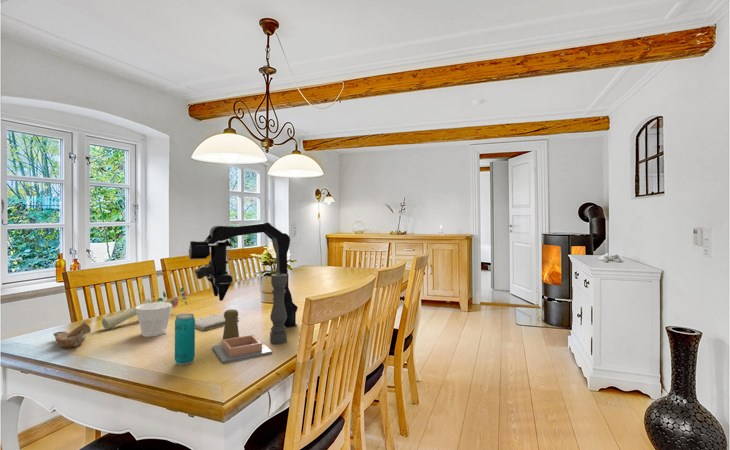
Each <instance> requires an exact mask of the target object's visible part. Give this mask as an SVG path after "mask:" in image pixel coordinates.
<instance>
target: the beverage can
mask: <svg viewBox="0 0 730 450" xmlns="http://www.w3.org/2000/svg"><path fill="white" fill-rule="evenodd" d="M194 316H195V314H194V313H181V314H177V315H176V316H175V319H174V361H175V363H176V365H177V366H189V365H191V364H192V363H193V362H194V359H195V357H196V352H195V351H196V328H195V319H196V318H195V317H194ZM190 363H191V364H190Z"/></svg>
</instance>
